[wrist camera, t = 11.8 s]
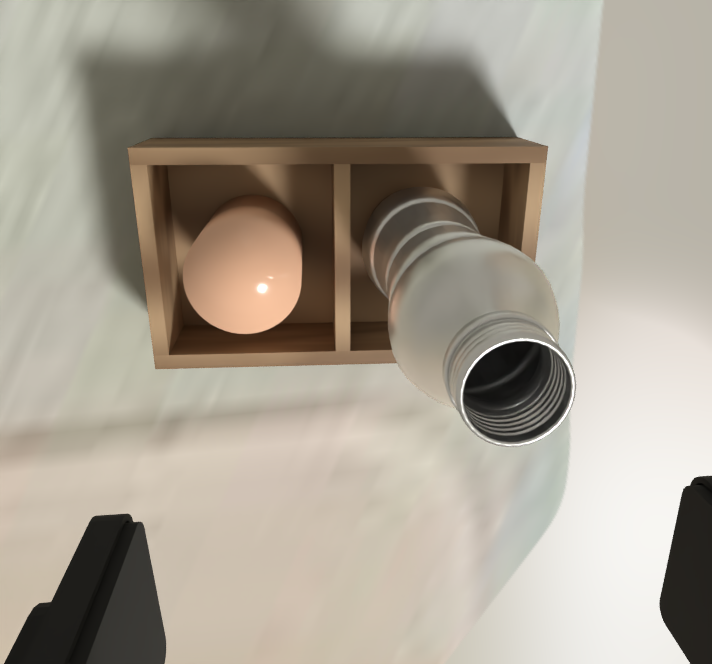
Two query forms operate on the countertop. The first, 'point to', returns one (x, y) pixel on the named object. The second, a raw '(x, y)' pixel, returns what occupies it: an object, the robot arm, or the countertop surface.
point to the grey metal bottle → (469, 317)
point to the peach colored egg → (245, 265)
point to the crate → (313, 230)
